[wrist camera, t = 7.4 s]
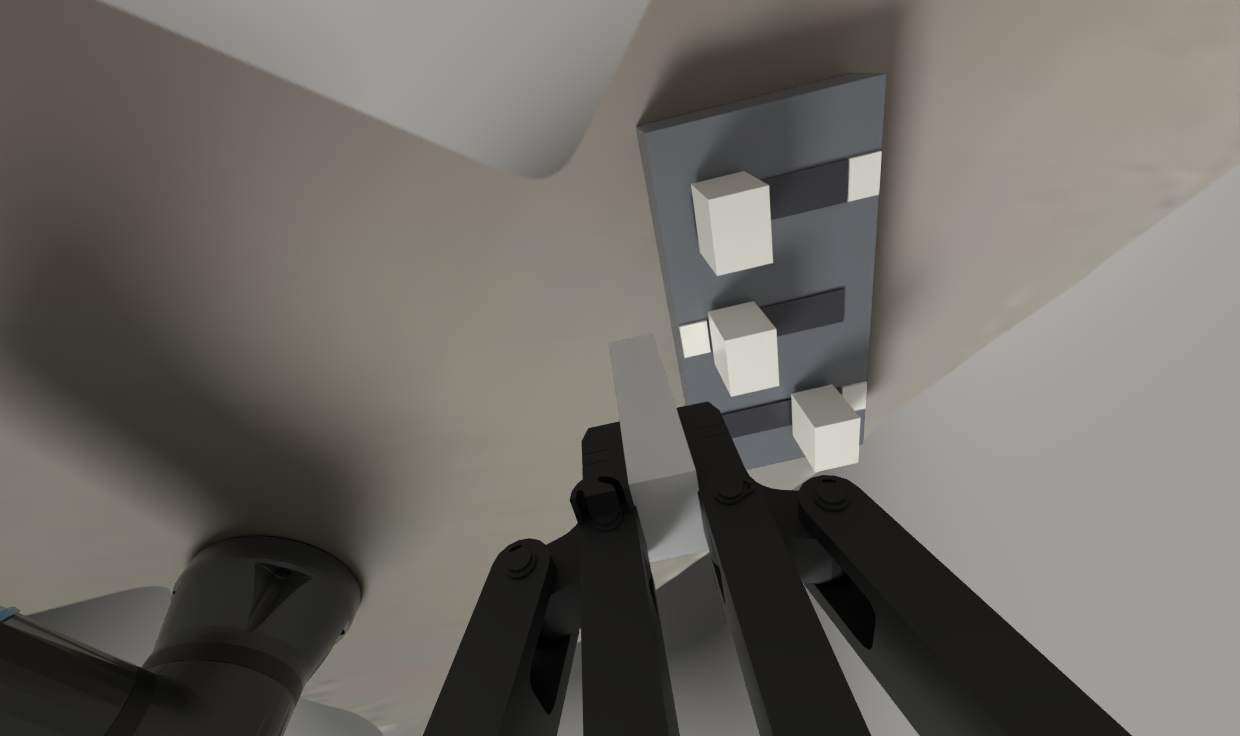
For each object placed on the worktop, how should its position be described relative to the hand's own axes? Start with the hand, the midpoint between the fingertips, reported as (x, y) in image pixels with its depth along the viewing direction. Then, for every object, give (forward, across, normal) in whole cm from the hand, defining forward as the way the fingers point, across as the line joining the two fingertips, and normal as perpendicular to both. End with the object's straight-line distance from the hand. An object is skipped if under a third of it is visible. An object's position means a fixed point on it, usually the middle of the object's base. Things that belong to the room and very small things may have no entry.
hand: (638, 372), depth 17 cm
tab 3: (+14, +12, -15) cm, 24 cm away
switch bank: (+19, +10, -8) cm, 22 cm away
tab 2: (+14, +7, -7) cm, 17 cm away
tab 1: (+14, +7, +1) cm, 15 cm away
